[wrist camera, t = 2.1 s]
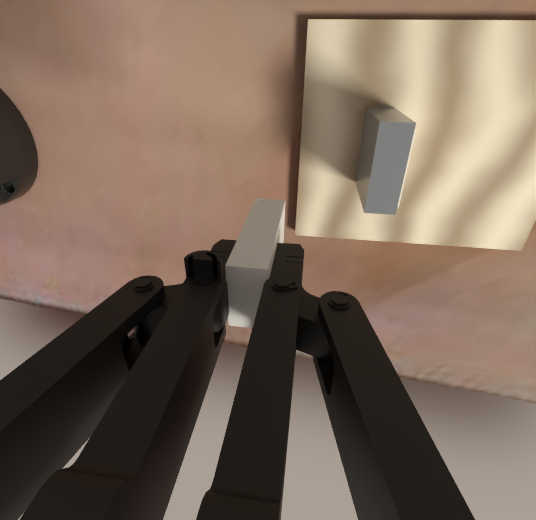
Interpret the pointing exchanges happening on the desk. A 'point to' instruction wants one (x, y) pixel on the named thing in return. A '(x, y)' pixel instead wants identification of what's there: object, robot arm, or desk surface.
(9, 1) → the desk surface
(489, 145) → the board
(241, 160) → the desk surface
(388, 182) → the tile
